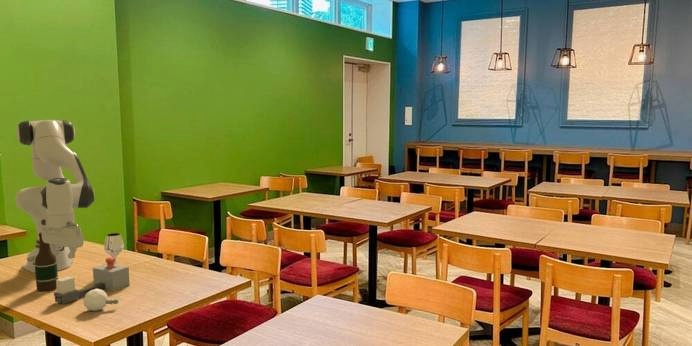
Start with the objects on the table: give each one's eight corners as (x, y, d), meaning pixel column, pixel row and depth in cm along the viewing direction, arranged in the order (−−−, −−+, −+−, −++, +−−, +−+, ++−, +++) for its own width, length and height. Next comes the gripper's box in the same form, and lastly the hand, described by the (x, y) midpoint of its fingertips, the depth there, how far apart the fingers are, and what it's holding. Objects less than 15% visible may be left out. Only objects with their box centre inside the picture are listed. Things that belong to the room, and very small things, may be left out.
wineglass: (126, 274, 227) (125, 235, 225) (107, 277, 222) (105, 237, 220) (123, 269, 234) (121, 231, 231) (104, 272, 229) (102, 234, 227)
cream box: (54, 301, 192) (52, 279, 191) (69, 296, 198) (67, 275, 197) (64, 304, 190) (62, 282, 189) (78, 299, 195) (77, 277, 194)
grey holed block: (93, 286, 211) (92, 268, 210) (110, 280, 218) (109, 262, 217) (113, 291, 205) (112, 272, 204) (129, 285, 212) (128, 266, 211)
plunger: (104, 279, 210) (103, 259, 209) (112, 277, 214) (111, 257, 212) (110, 280, 209) (109, 260, 208) (118, 278, 212) (116, 258, 211)
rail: (57, 303, 192) (56, 297, 191) (101, 288, 208) (101, 282, 208) (61, 304, 191) (60, 298, 190) (105, 289, 207) (105, 283, 207)
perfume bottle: (86, 296, 190) (121, 297, 193) (81, 315, 184) (116, 315, 187) (85, 284, 185) (120, 285, 188) (79, 303, 179) (116, 304, 182)
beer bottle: (48, 293, 203) (44, 235, 200) (32, 291, 204) (27, 234, 202) (62, 286, 210) (59, 230, 208) (47, 285, 212) (43, 229, 209)
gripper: (86, 222, 188) (89, 257, 190) (53, 217, 197) (55, 251, 199) (70, 225, 182) (73, 262, 184) (37, 220, 192) (39, 255, 193)
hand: (63, 256), depth 192 cm, fingers open, 8 cm apart
